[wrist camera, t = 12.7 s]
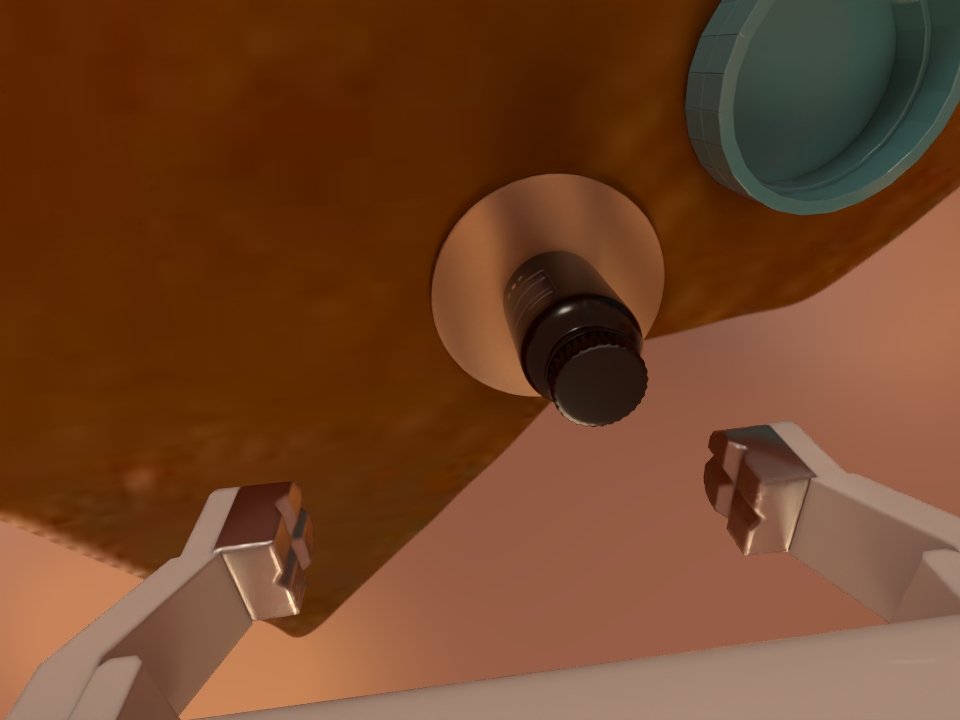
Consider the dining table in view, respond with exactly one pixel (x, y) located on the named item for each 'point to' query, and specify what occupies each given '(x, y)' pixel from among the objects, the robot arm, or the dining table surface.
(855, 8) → the pan
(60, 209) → the dining table surface
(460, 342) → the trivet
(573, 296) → the supplement bottle
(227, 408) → the dining table surface
